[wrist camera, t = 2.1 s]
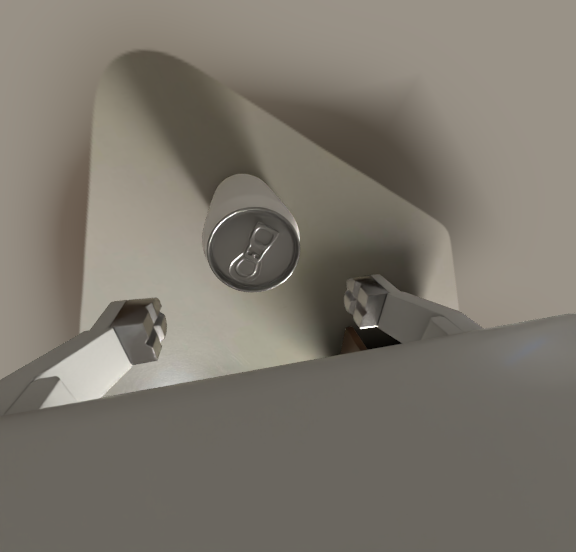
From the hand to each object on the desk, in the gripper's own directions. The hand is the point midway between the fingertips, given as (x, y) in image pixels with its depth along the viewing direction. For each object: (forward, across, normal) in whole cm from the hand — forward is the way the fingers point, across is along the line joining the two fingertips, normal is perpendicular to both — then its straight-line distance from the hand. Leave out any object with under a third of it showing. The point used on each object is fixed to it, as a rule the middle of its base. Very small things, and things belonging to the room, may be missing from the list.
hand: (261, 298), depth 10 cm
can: (+17, 0, 0) cm, 17 cm away
